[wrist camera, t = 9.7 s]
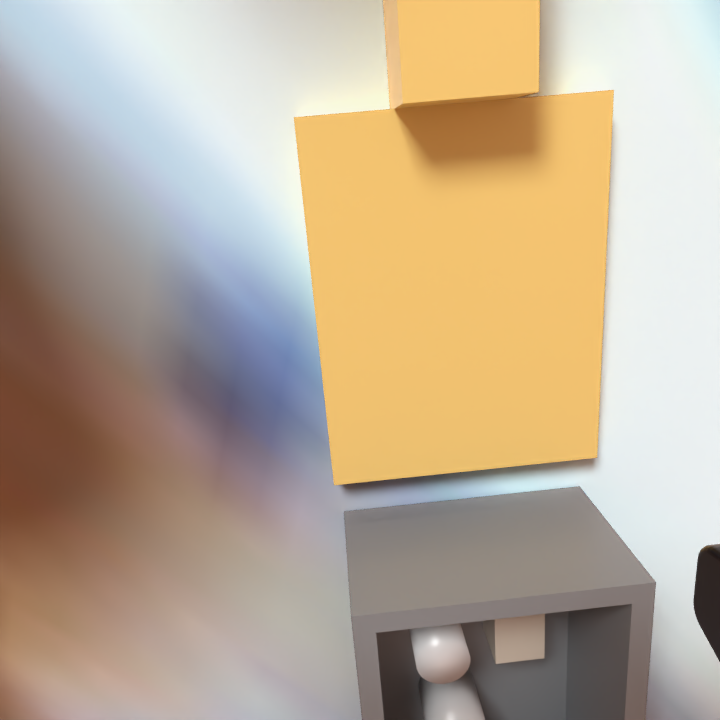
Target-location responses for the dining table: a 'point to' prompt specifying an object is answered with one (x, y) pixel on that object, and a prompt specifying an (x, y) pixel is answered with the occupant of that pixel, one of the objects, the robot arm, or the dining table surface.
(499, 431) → the lid
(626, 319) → the dining table surface
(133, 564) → the dining table surface
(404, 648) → the tub
